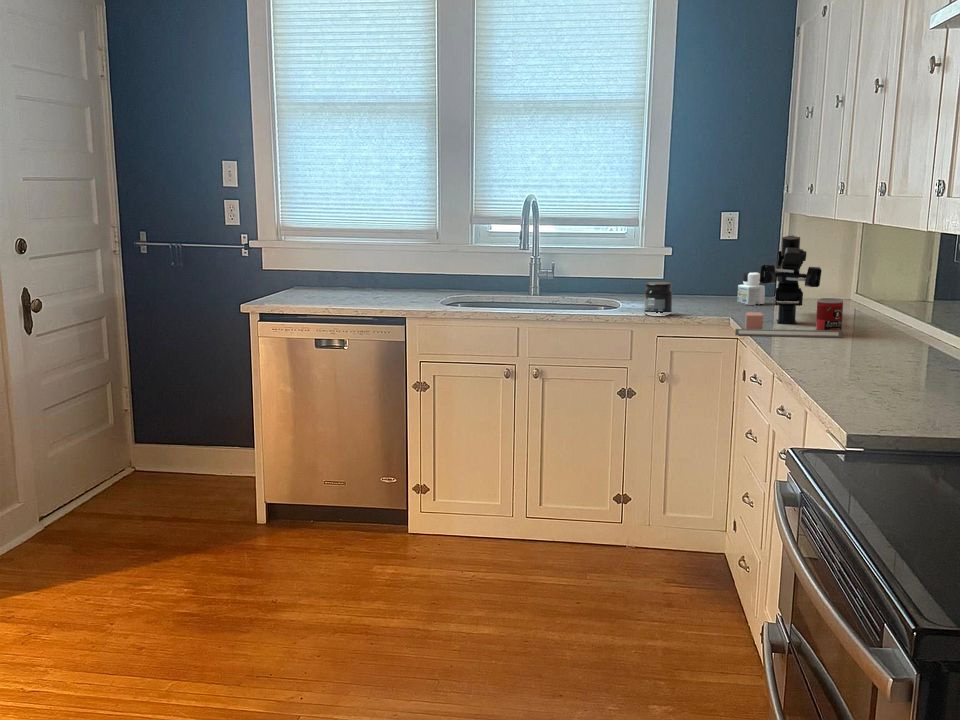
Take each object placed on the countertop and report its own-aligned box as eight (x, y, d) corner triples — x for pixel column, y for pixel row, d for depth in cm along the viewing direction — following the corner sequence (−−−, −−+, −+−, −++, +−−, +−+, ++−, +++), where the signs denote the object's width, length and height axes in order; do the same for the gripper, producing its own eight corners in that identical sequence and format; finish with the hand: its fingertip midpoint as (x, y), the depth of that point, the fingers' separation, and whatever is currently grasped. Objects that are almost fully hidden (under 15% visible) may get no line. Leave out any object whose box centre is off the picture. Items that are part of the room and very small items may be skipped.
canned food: (826, 336, 280) (827, 301, 278) (810, 332, 288) (812, 298, 286) (846, 334, 282) (848, 300, 280) (830, 331, 290) (832, 297, 288)
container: (736, 303, 362) (738, 272, 360) (753, 302, 365) (754, 271, 362) (747, 306, 355) (749, 273, 353) (764, 304, 357) (765, 272, 355)
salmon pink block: (746, 333, 289) (746, 315, 288) (745, 330, 296) (745, 312, 295) (762, 333, 288) (763, 315, 287) (761, 330, 295) (762, 312, 294)
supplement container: (670, 312, 340) (671, 281, 338) (673, 316, 330) (674, 284, 327) (642, 313, 341) (643, 281, 339) (644, 316, 331) (645, 284, 328)
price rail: (735, 334, 286) (735, 328, 286) (841, 336, 278) (841, 330, 278) (735, 335, 285) (735, 329, 285) (841, 337, 277) (842, 331, 277)
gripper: (763, 243, 296) (762, 255, 283) (822, 247, 291) (825, 259, 277) (759, 276, 301) (758, 289, 287) (818, 280, 295) (820, 293, 282)
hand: (790, 282), depth 283 cm, fingers open, 9 cm apart
